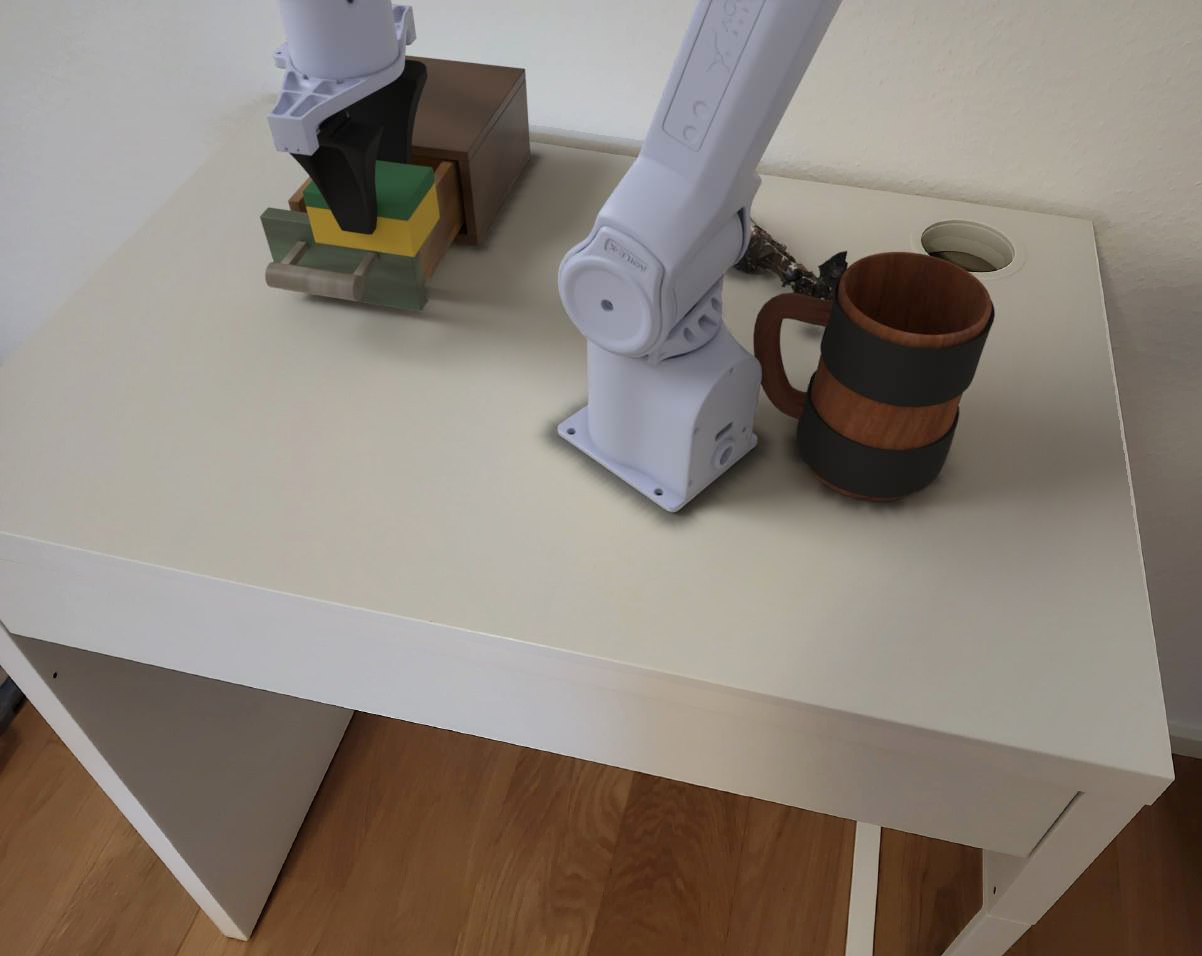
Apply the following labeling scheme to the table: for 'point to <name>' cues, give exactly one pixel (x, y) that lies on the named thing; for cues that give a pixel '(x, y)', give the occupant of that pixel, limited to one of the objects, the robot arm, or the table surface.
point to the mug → (880, 371)
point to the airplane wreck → (791, 265)
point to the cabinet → (475, 133)
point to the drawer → (362, 251)
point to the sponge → (384, 211)
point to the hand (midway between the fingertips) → (375, 206)
